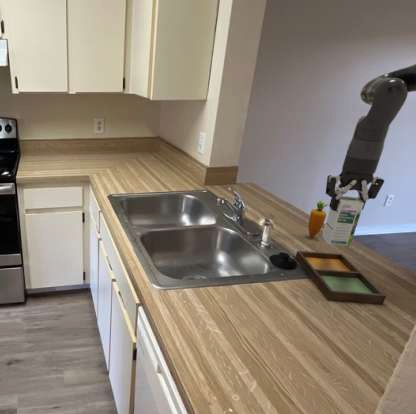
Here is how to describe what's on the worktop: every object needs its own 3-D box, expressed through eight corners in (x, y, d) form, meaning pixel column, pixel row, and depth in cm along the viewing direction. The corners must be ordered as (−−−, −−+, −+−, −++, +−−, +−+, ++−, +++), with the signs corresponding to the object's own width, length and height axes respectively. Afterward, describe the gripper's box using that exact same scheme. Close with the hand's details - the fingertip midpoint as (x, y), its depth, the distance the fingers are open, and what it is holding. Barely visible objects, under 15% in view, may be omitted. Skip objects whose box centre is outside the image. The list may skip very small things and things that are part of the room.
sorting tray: (339, 260, 111) (342, 253, 109) (382, 304, 91) (386, 296, 89) (295, 257, 112) (297, 250, 111) (327, 299, 92) (330, 291, 91)
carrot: (306, 233, 129) (317, 197, 123) (321, 238, 125) (332, 201, 119) (301, 237, 126) (311, 200, 120) (316, 242, 122) (327, 204, 116)
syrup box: (328, 245, 100) (342, 200, 94) (321, 236, 105) (333, 193, 100) (350, 247, 99) (365, 202, 93) (341, 238, 104) (355, 195, 98)
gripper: (342, 157, 89) (325, 214, 96) (401, 159, 87) (379, 217, 94) (328, 151, 96) (313, 204, 102) (382, 152, 94) (363, 206, 101)
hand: (345, 210), depth 98 cm, fingers closed on syrup box, 6 cm apart
